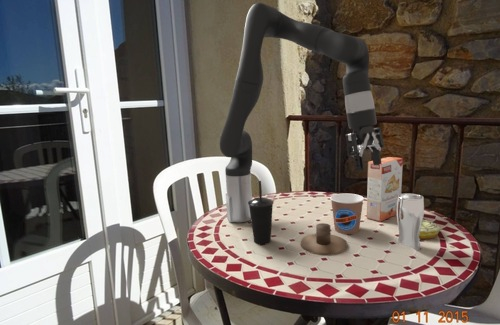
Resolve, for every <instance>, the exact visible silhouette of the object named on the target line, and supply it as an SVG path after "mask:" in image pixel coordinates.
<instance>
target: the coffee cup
mask: <svg viewBox="0 0 500 325" xmlns="http://www.w3.org/2000/svg"><path fill="white" fill-rule="evenodd" d="M329 199H330V201H331V202H330V203H331V208H332V217H333V218H332V219H333V225H334V230H335V232H337V233H338V234H343V235H354V234H358V233H359V232H360V228H361V227H360V225H361V219H362V212H363V204H364V201H365V198H364V197H363V196H362V195H359V194H357V193H356V194H355V193H347V192H346V193H337V194H332V195H331V196H330V197H329Z"/></svg>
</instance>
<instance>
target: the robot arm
mask: <svg viewBox="0 0 500 325" xmlns="http://www.w3.org/2000/svg"><path fill="white" fill-rule="evenodd" d="M244 25H245V26H244V31H243V32H244V33H243V39H242V40H243V41H242V46H241V53H240V58H239V63H238V69H237V73H236V77H235V80H234V85H233V90H232V96H231V101H230V102H229V108H228V112H227V117H226V120H225V123H224V126H223V129H222V132H221V135H220V139H219V149H220V150H219V151H220V152H221V154H223V155H224V157H226V158H230V161H229V163H228V164H227V165H226V166H225V184H226V185H225V186H226V187H225V188H226V189H225V190H226V193H225V204H226V218H227V219H228V221H229V223H245V222H248V221H251V216H250V208H249V205H248V202H249V201H250V200H252V199H253V198H252V196H253V194H252V183H251V182H252V178H251V175H252V174H251V169H252V165H253V141H252V138H251V135H250V134H249V133H248V132H247V131H246V130H244V129H245V124H246V121H247V120H248V117H249V116H250V114H251V112H252V111H253V110H254V107H255V106H256V104H257V103H258V101H259V98H260V95H261V92H262V88H263V83H264V70H263V63H262V58H261V56H262V55H261V54H262V46H263V42H264V38H275V39H280V40H281V39H282V40H286V41H289V42H292V43H294V44H296V45H298V46H300V47H302V48H305V49H307V50H309V51H312V52H314V53H317V54H320V55H324V56H327V57H328V58H330V59H333V60H335V62H340V63H342V64H345V75H344V76H343V77H342V87H343V93H344V105H345V111H346V118H347V126H348V128H349V129H350V130H352V133H351V132H350V133H346V134H345V142H346V149H347V156H349V157H353V158H354V159H353V160H354V165H355V169H356V171H358V172H359V171H361V172H362V171H365V169H366V168H365V161H364V156H363V154H364V150H366V148H369V150H370V151H371V158H372V161H373V164H374V165H379V164H381V159H382V157H381V151H382V149H383V148H384V147H385V144H384V139H383V134H382V128H381V127H374V126H375V125H377V123H378V122H377V115H376V107H375V101H374V97H373V93H372V88H371V81H370V76H369V70H370V52H369V47H368V44H367V42H366V41H365V40H364V39H362V38H360V37H357V36H353V35H350V34H349V35H348V34H345V33H341V32H337V31H334V30H332V29H331V28H327V27H325V26H322V25H318V24H315V23H310V22H305V21H299V20H297V19H293V18H292V17H289V16H287V15H286V14H284V13H282V12H281V11H279V9H277V8H275V7H274V6H270V5H267V4H266V3H262V2H256V3H254V4H252V5H251V7H250V8H249V10H248V12H247V15H246V19H245V24H244Z"/></svg>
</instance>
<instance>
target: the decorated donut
mask: <svg viewBox="0 0 500 325" xmlns="http://www.w3.org/2000/svg"><path fill="white" fill-rule="evenodd" d="M440 230H441V228H440V227H439V225H438V224H436V223H434V222H433V221H430V220H427V219H423V222H422V226H421V230H420V235H419V240H429V239H434V238H436V237H437V236H438V235H439V232H441V231H440Z"/></svg>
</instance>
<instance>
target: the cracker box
mask: <svg viewBox="0 0 500 325" xmlns="http://www.w3.org/2000/svg"><path fill="white" fill-rule="evenodd" d="M403 162H404V159H403V157H394V156H393V157H391V156H387V157H383V158H382V157H381V164H379V165H374V164H373V160H371V161H370V160H369V161H368V162H367V188H366V189H367V193H366V194H367V195H366V196H367V197H366V219H369V220H373V221H377V222H382V221H385V220H388V219H389V218H391V217H394V216H397V213H396V209H397V199H398V195H399V194H402V185H403V184H402V183H403V167H404V166H403V165H404V163H403Z"/></svg>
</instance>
